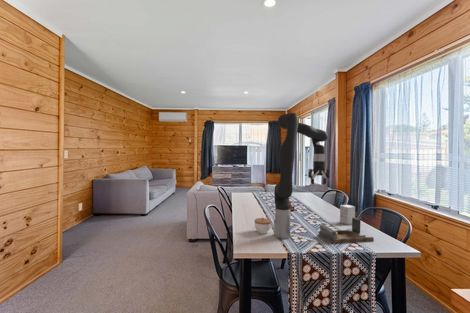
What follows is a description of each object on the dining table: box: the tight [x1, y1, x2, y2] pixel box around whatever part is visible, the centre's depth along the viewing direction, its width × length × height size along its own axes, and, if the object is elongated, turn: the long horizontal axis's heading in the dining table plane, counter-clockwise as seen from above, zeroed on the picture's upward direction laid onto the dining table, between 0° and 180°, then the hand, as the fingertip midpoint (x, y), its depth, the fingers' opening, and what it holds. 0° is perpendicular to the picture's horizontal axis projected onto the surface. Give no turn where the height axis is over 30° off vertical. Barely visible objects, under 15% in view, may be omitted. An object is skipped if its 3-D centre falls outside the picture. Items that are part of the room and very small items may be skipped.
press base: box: [318, 224, 375, 244], centre depth 140 cm, size 26×14×8 cm, turn 100°
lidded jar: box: [254, 217, 272, 235], centre depth 152 cm, size 11×11×9 cm
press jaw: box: [346, 217, 367, 238], centre depth 141 cm, size 4×11×11 cm, turn 10°
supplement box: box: [339, 204, 356, 225], centre depth 174 cm, size 7×7×13 cm
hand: (318, 184), depth 161 cm, fingers open, 8 cm apart
